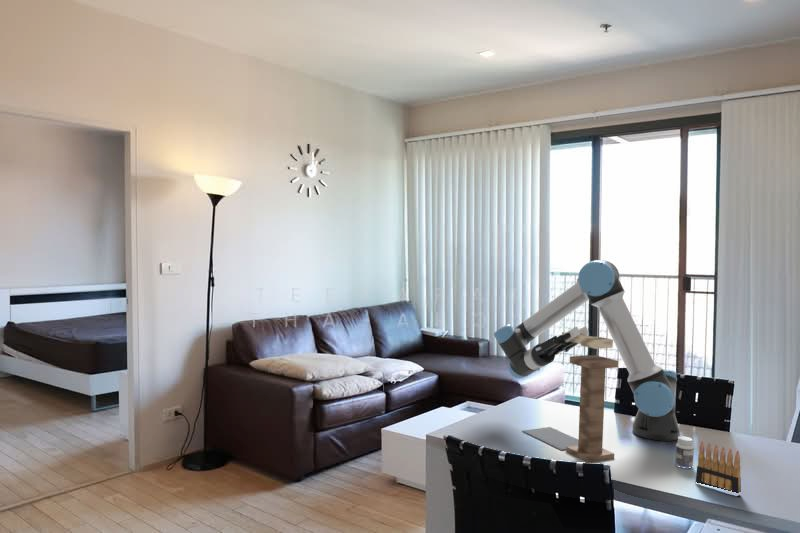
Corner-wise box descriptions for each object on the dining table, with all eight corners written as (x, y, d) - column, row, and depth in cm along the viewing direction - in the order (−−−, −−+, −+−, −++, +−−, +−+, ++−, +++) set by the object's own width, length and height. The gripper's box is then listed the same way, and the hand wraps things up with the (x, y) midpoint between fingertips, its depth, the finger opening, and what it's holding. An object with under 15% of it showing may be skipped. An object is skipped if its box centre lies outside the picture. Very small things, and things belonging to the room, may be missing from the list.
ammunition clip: (740, 496, 149) (743, 450, 149) (738, 497, 148) (740, 452, 148) (698, 482, 157) (700, 439, 157) (695, 484, 156) (697, 440, 156)
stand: (566, 451, 179) (569, 356, 178) (590, 447, 183) (594, 354, 182) (589, 462, 170) (593, 362, 169) (614, 458, 174) (618, 360, 173)
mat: (522, 431, 198) (522, 430, 198) (549, 428, 203) (550, 426, 203) (561, 450, 180) (561, 449, 180) (590, 446, 185) (590, 445, 185)
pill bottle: (672, 462, 172) (673, 435, 172) (688, 463, 172) (689, 435, 171) (679, 468, 167) (680, 440, 167) (695, 469, 167) (697, 441, 167)
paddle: (557, 340, 186) (557, 332, 186) (573, 339, 189) (573, 331, 189) (595, 348, 170) (595, 340, 170) (612, 347, 173) (612, 339, 173)
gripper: (561, 364, 201) (605, 340, 182) (524, 367, 194) (566, 342, 175) (554, 344, 204) (597, 318, 185) (518, 346, 197) (558, 320, 179)
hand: (582, 330), depth 180 cm, fingers closed on paddle, 3 cm apart
